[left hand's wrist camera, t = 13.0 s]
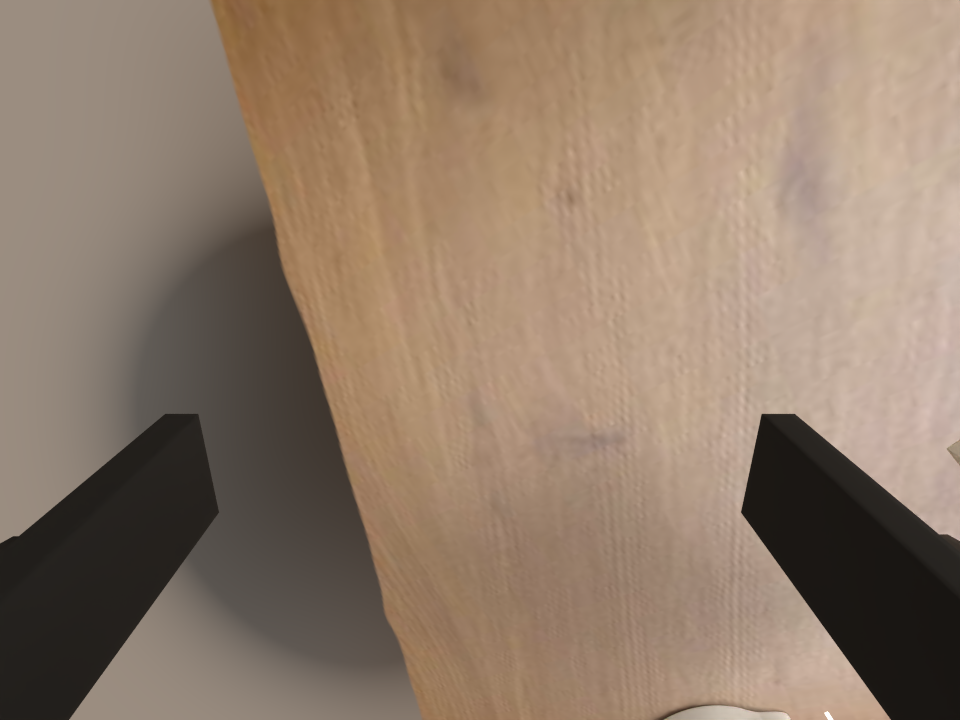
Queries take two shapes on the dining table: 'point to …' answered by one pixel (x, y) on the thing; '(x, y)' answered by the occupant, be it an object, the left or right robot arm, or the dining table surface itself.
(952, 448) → the bar
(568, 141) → the dining table surface
